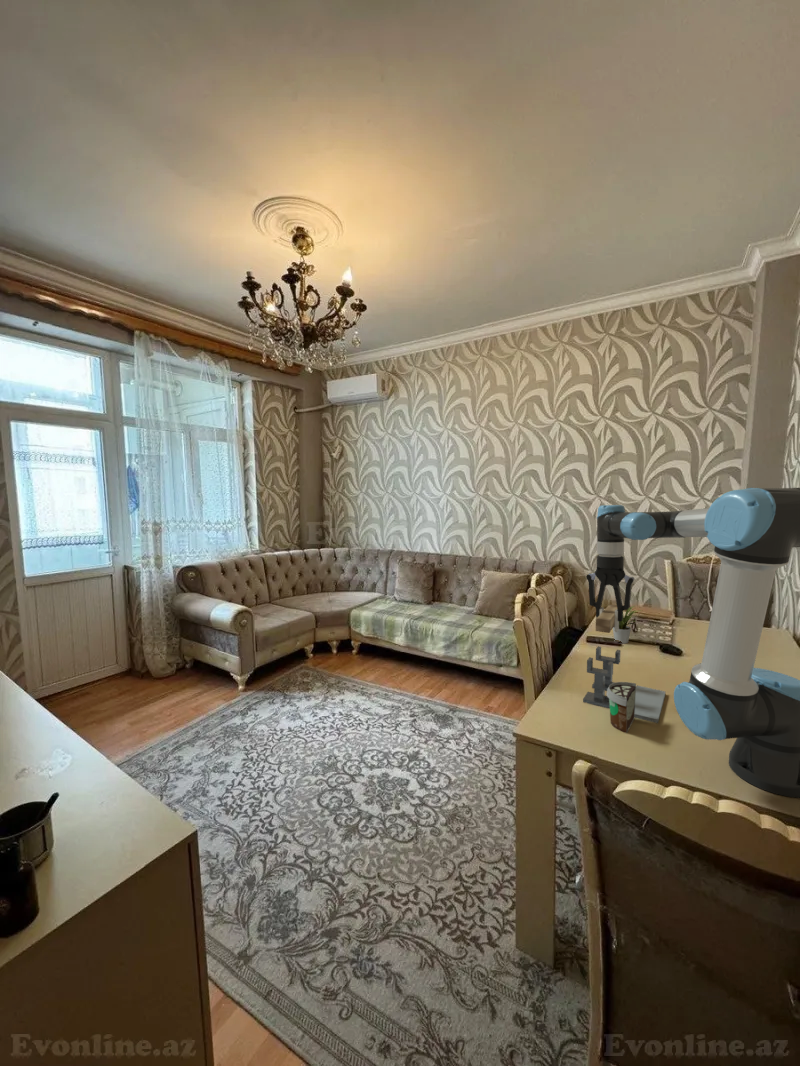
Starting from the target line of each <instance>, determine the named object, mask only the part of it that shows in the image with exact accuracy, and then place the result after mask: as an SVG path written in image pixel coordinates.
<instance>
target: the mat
mask: <svg viewBox="0 0 800 1066" xmlns="http://www.w3.org/2000/svg"><path fill="white" fill-rule="evenodd" d="M666 693H667V692H666V691H665V690H660V689H656V688H652V687H646V686H641V685H637V684H636V695H635V716H634V718H636V719H640V720H643V721H644V720H645V721H649V722H653V723H656V724H659V721H660V716H661V713H662V708H663V705H664V701H665V697H666Z"/></svg>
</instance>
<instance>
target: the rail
mask: <svg viewBox="0 0 800 1066" xmlns="http://www.w3.org/2000/svg"><path fill="white" fill-rule="evenodd" d="M616 609H617V604H616V605H615V604H608V605H607V607H606V608H604V611H603V612H602V613H601V614H600V615H599V616H598V617H597V618H596V617H595V632H599V633H600V632H601V633H607V634H610V633H611V631H613V627H614V626H615V610H616Z"/></svg>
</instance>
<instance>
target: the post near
mask: <svg viewBox="0 0 800 1066" xmlns="http://www.w3.org/2000/svg"><path fill="white" fill-rule="evenodd" d="M593 661H594V658H593V657H590V656H589V657H588V658H587V661H586V673H589V674H593V675H594V678H593V679H594V680H593V681H594V682H593V683H594V688H593V691H594V692H591V691H587V692H586V694H585V695H584V697H583V699H582V703H586V704H589V705H594V706H598V707H602V708H606V709H609V710H610V703H609V698H608V697H607V695H605V693H606V691H605V676H606V677H612V678H613V676H614V664H613V662H611V661H609V663H608V670H603V668H597V667H593V666H594V665H593V664H594V663H593Z"/></svg>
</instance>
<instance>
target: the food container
mask: <svg viewBox="0 0 800 1066" xmlns="http://www.w3.org/2000/svg"><path fill="white" fill-rule="evenodd" d="M636 686H637V684H636V683H634V682H629V681H616V682H615V683H612V684H610V685H609V687H608V689H607V691H606V692H605V693H606V695H605V696H607V697H608V698H609V703H610V709H609V717H610V725H611V726H612V727H613V728H615V729H616V730H618V731H619V732H622V733H625V734H627V733H628V731H629V729H630V728H631V726H632V724H633V722H634V720H635V717H634V716H635V695H636Z"/></svg>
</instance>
